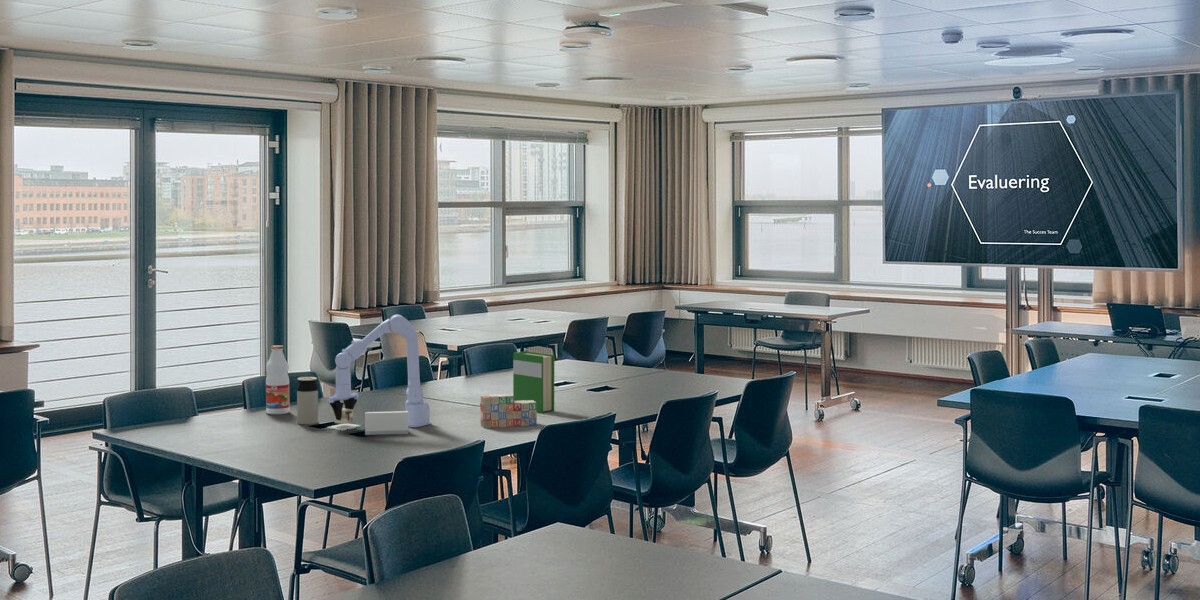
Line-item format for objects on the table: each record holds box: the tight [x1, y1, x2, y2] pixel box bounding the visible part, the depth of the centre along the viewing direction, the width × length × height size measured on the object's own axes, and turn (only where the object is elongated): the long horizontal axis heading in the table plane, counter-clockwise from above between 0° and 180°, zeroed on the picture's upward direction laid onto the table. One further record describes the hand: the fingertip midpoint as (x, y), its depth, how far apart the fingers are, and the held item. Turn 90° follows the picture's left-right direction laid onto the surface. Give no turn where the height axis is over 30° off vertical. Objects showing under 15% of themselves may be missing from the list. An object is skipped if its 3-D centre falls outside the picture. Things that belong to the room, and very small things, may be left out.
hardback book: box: [512, 350, 555, 414], centre depth 484 cm, size 18×7×24 cm, turn 46°
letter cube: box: [333, 407, 354, 425], centre depth 442 cm, size 5×5×5 cm
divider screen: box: [364, 410, 409, 436], centre depth 431 cm, size 16×5×8 cm, turn 100°
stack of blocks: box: [479, 393, 538, 429], centre depth 449 cm, size 21×6×12 cm, turn 106°
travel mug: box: [296, 376, 319, 426], centre depth 451 cm, size 8×8×18 cm
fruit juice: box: [265, 344, 291, 415], centre depth 474 cm, size 9×9×28 cm
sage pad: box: [326, 423, 362, 432], centre depth 442 cm, size 10×8×1 cm
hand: (343, 418), depth 442 cm, fingers closed on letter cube, 5 cm apart
